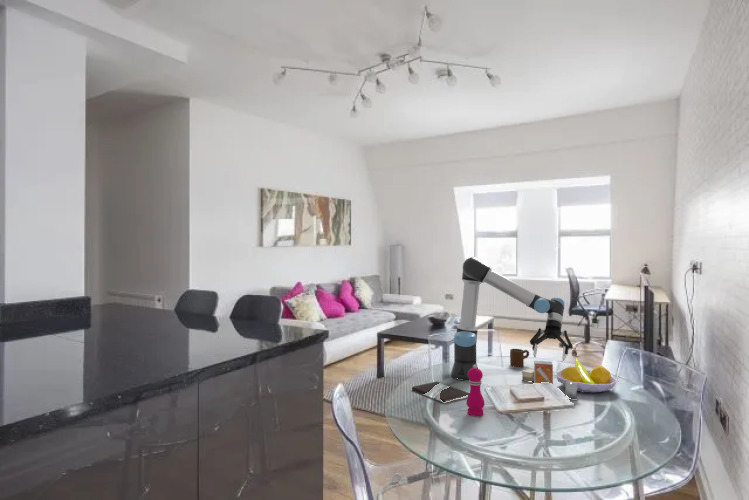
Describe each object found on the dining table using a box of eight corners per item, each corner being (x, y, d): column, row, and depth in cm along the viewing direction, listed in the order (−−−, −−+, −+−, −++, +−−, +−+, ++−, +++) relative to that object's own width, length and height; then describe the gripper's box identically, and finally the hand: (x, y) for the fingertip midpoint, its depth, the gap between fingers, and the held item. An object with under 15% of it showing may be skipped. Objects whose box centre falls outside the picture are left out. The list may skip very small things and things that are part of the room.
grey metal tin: (570, 400, 185) (570, 385, 185) (562, 397, 190) (562, 381, 190) (579, 399, 186) (579, 384, 187) (571, 396, 191) (571, 381, 191)
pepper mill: (485, 411, 172) (484, 363, 172) (483, 418, 165) (483, 367, 166) (467, 409, 174) (467, 361, 175) (465, 415, 167) (465, 365, 168)
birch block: (530, 382, 213) (530, 372, 214) (522, 380, 218) (522, 370, 218) (536, 380, 216) (536, 371, 216) (528, 378, 220) (528, 369, 221)
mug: (525, 363, 253) (525, 347, 253) (532, 366, 245) (532, 350, 246) (507, 364, 250) (507, 348, 250) (514, 367, 243) (514, 351, 243)
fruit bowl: (617, 401, 185) (617, 375, 185) (551, 391, 198) (551, 367, 198) (617, 384, 209) (616, 362, 209) (558, 377, 222) (558, 356, 223)
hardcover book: (436, 385, 210) (436, 381, 210) (470, 398, 190) (470, 393, 190) (412, 391, 201) (411, 386, 201) (444, 405, 182) (444, 399, 182)
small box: (535, 390, 200) (534, 363, 200) (534, 386, 206) (533, 360, 206) (553, 392, 197) (552, 364, 198) (551, 388, 204) (551, 361, 204)
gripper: (580, 329, 215) (577, 365, 202) (530, 325, 229) (524, 358, 216) (579, 320, 211) (575, 356, 198) (528, 317, 225) (521, 350, 212)
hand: (548, 357), depth 207 cm, fingers open, 13 cm apart
